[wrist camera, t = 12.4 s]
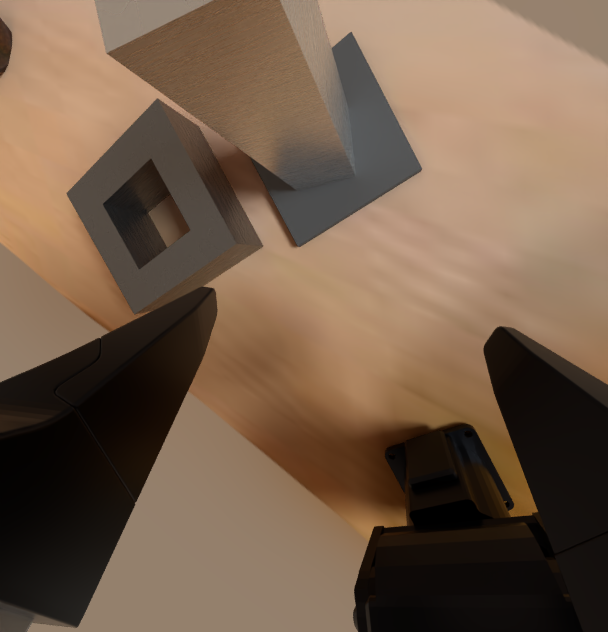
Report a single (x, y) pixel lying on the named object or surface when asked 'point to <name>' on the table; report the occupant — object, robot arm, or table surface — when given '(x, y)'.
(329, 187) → the rubber mat
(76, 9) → the table surface
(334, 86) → the steel peg
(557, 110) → the table surface
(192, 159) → the socket block
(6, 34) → the bolt
